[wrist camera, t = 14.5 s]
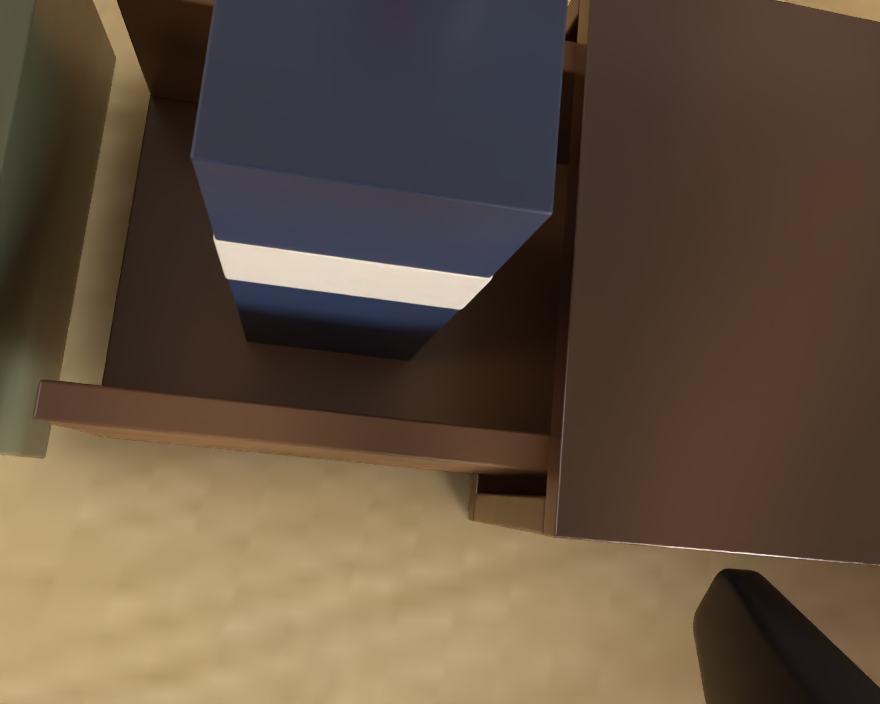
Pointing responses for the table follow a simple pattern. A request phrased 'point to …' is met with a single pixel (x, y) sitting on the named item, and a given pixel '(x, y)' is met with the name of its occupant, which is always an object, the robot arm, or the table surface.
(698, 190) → the cabinet
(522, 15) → the straw box
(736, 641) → the robot arm
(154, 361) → the drawer
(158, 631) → the table surface
